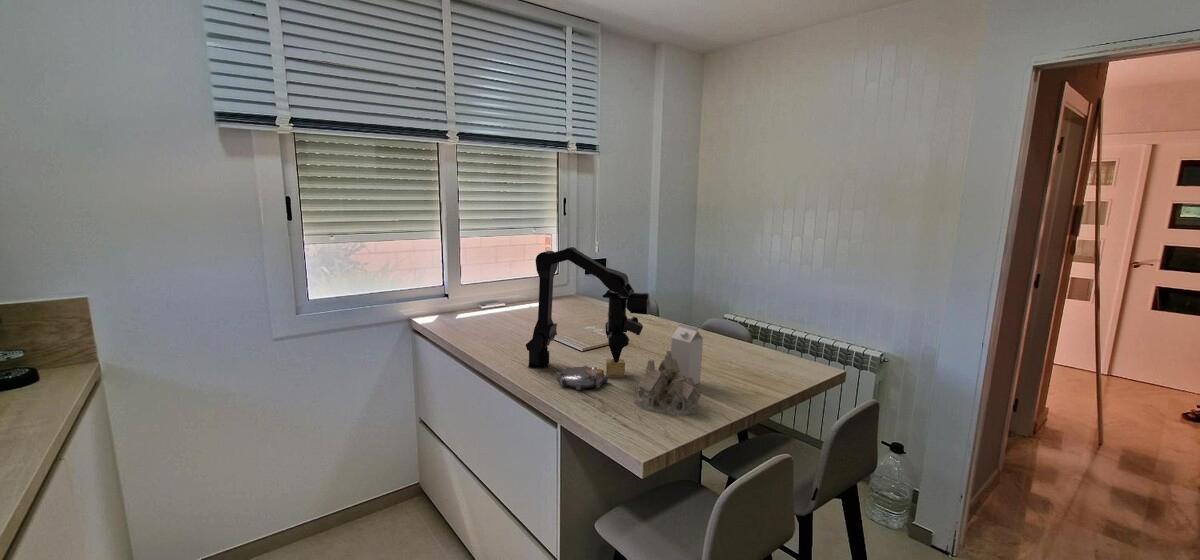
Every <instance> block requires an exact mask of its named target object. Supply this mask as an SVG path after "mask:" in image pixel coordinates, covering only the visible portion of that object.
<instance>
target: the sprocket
mask: <svg viewBox="0 0 1200 560" xmlns="http://www.w3.org/2000/svg"><path fill="white" fill-rule="evenodd" d="M555 378H556V380H559V386H561V387H564V386H566V387H568V388H573V389H575V390H576V391H582V390H581V389H593V388H595V389H600V388H601V385H603V384H604V383H608V382H609V377H608V375H606V374H605V372H604V369H602V368H598V367H596V366H593V367H589V366H588V365H583V366H573V367H571V366H566V367H565V369H564V370H561V371H557V372H556V377H555Z"/></svg>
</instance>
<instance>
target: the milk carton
mask: <svg viewBox="0 0 1200 560" xmlns="http://www.w3.org/2000/svg"><path fill="white" fill-rule="evenodd" d="M698 329H699V328H698V327H696V326H691V325H689V324H688V325H687V324H685V323H684V324H683V323H680V322H679V323H678V326H677V328H676V330H675V332H674V333H673V334H672V336H671V345H670V346H671V347H670V348H671V349H670V351H671V355H672V359H674V358H675V359H676V361H677V364H678V367H679V369H680V372H679V373H681V374H683V375H685V377H688V376H692V379H693V382H694V385H695V386H696V385H698V384H700V383H701V374H702V373H701V371H702V359H703V347H704V346H703V345H704V344H703V343H704V338H703V336H702V335H701V333H700V332H699V330H698Z"/></svg>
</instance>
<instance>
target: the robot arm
mask: <svg viewBox="0 0 1200 560" xmlns="http://www.w3.org/2000/svg"><path fill="white" fill-rule="evenodd" d="M565 261H569V262H571V263H572V264H574V265H576V266H578V267H579V268H581V269H583V270H584V271H586V272H588V273H589V274H590V275H592V276H594V277H596V278H597V279H598V280H600V282H601V283H602V284H603V286H605V287H606V288H607V289H608V290H607V291H606V292H605V293H604V294H602V298H604V299H605V298H606V299H608V310H607V321H606V323H605V324H604V330H605V335H606V337H607V344H608V347H609V350H610V352H611V355H612V358H613V359H614V362H615V363H618V361H619V359H620V358H621V354H622V351H623V348H625V347H627V346H629V341H630V340H629V336H628V335H627V334H626V333H627V332H630V333H633V334H635V335H636V336H640V335H641V332H642V330H643V328H644V325H643V324H642V323H641V322H639V318H638V317H636V316H635V315H634V316H632V317H631V318H629V317H628V316H627V311H628V312H629V313H630V314H637V315H647V316H648V315H649V313H650V311H651V302H650V293H648V292H635V290H634V289H633V287H632V285H631V284H630V279H629V277H628V275H627V274H626V273H624V272H621V271H619V270H617V269H613V268H610V267H607V266H605V265H603V264H601V263H599V262H598V261H596V260H595V259H593V258H591V257H589V256H588V255H587V254H584V253H583V252H581V251H579V250H578V249H577V248H576V247H573V246H570V247H567V248H565V249H561V250H558V251H553V250H547V251H543V252H540V253H538V254H537V256H536V257H535V268H536V272H537V275H538V277H539V289H538V309H537V312H538V313H537V321H536V323H535V326H534V327H533V333H532V339H530V340H529V341H528V342H527V343H525V348H526V351H528V365H527V368H536V369H537V368H539V369H543V368H544V369H546V368H548V366H549V365H550V350H549V348H548V347H549V346H550V344H551V342H553V341H554V339H555V338H556V336H557V335H558V333H557V329H558V328H557V327H558V323H554V321H553V319H552V316H553V315H552V313H553V292H554V279H555V278H554V277H555V275H556V273H557V270H558V266H559V264H560V263H561V262H565Z"/></svg>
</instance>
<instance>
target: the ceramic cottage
mask: <svg viewBox="0 0 1200 560" xmlns="http://www.w3.org/2000/svg"><path fill="white" fill-rule="evenodd" d="M663 358H664V359H662V360H661V363H660V364H659V367H658V370H657V369H656V366H655V360H654V359H648V361H647V363H646V364H647V365H646V367H645V368H646V369H645V374H644V375H643V377H642V378H641V379H640V381H639V383H638V384H637V386H638V387H639V388H638V390H637V394H636V396H635V399H634V405H636V406H637V407H638V408H640V409H643V410H644V411H646V412H653V413H654V412H655V413H658V414H667V415H672V416H677V417H687V416H691V415H695V414H697V412H698V411H700V408H699V407H700V406H698V405H699V399H700V398H701V396H702V395H701V393H700V392H699V391H698V389H697V387H696V385H694V382H693V379H692V376H688V377H685V375H683V374H681V373H679V372H680V369H679V367H678V364H677V361H676V359H675V358H674V359H672V355H671V350H667V349H666V354H664V357H663ZM698 413H699V412H698Z"/></svg>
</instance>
